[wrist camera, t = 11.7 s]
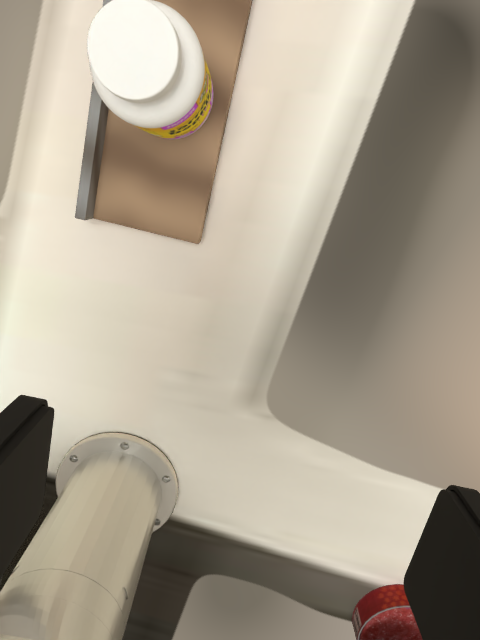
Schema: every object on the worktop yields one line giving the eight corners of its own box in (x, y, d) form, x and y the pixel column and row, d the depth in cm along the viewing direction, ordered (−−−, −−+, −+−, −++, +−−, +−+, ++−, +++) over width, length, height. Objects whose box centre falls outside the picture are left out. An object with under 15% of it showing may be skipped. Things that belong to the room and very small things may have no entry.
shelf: (200, 240, 41) (195, 247, 37) (89, 213, 40) (72, 217, 36) (262, -47, 34) (263, -75, 30) (131, -84, 34) (115, -117, 30)
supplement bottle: (180, 158, 37) (146, 148, 24) (112, 101, 36) (40, 62, 23) (232, 86, 35) (223, 37, 23) (162, 24, 34) (114, -62, 22)
